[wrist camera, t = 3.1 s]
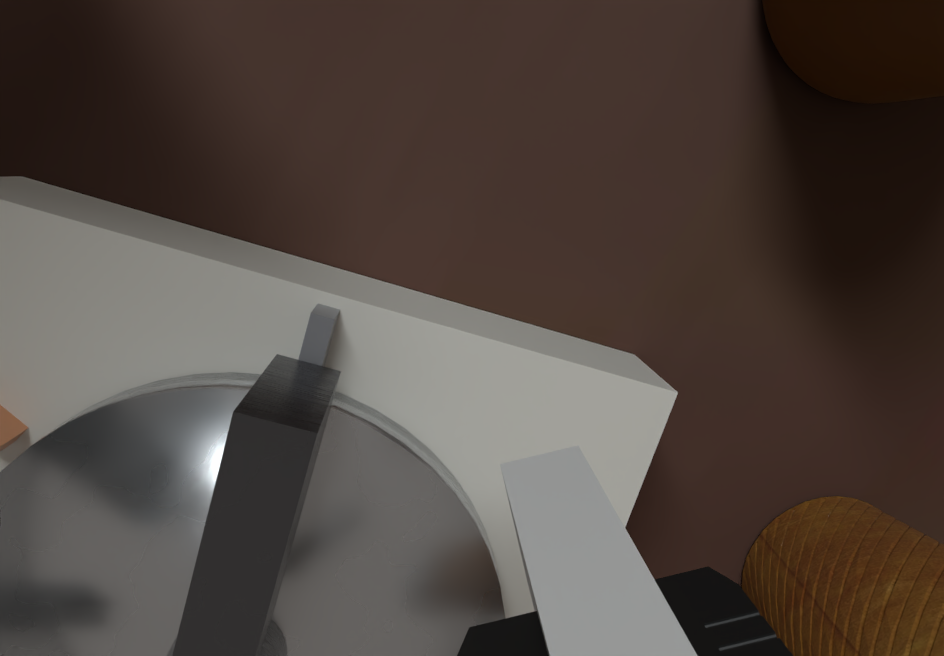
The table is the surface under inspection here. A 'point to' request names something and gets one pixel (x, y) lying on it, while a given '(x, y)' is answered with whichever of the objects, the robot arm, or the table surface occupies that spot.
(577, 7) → the table surface
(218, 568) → the dial
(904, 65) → the mug
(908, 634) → the disposable coffee cup
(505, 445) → the dial housing
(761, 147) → the table surface
